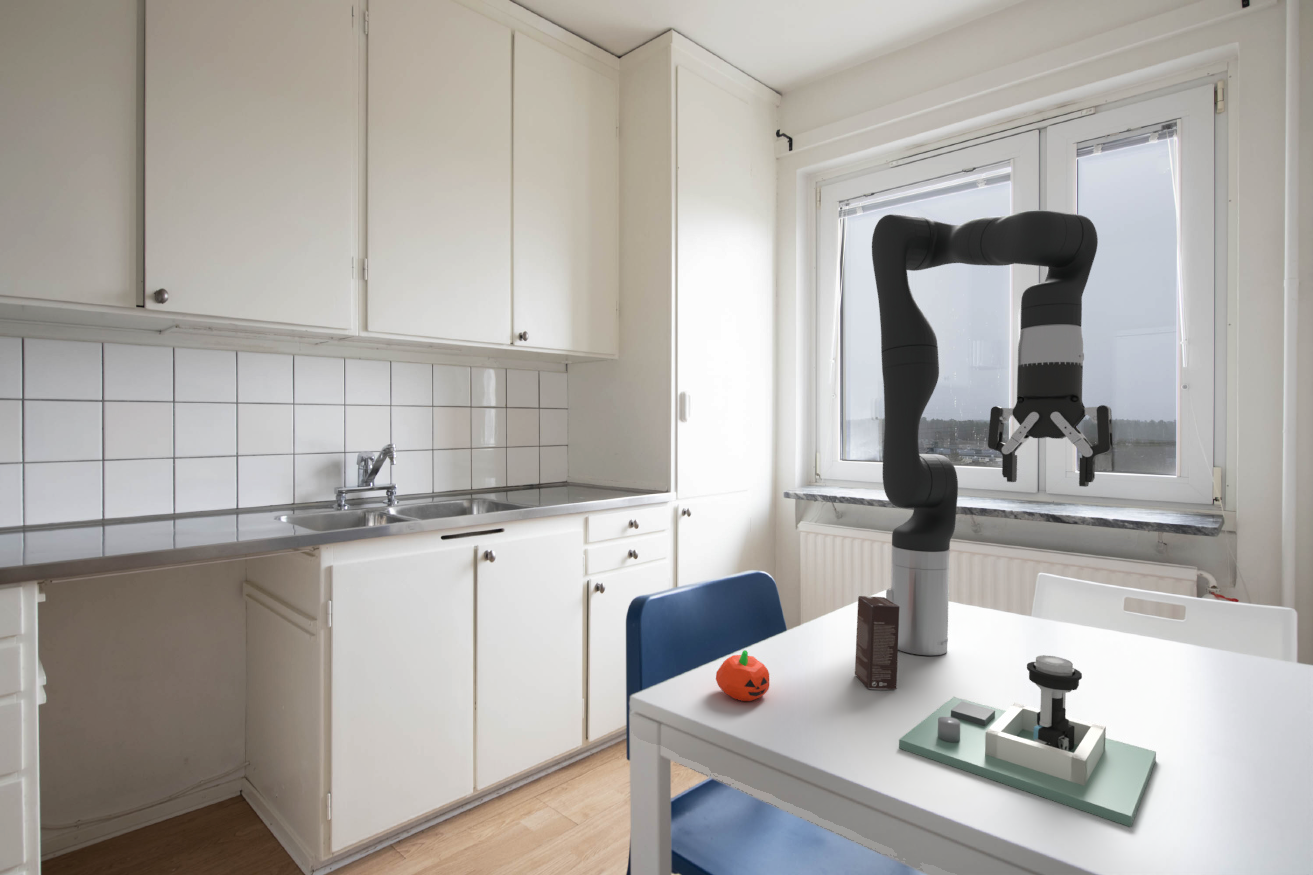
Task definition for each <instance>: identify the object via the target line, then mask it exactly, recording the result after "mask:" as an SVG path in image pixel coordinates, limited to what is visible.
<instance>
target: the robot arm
mask: <svg viewBox="0 0 1313 875" xmlns="http://www.w3.org/2000/svg"><path fill="white" fill-rule="evenodd" d="M1098 240H1099V239H1098V232H1097V229H1096V227H1095V224H1094V223H1093V222H1092V220H1091V219H1090V218H1089V217H1087V216H1085V215H1082V214H1077V213H1069V212H1062V211H1055V210H1047V209H1031V210H1023V211H1019V212H1016V213H1014V214H1010V215H997V216H984V217H978V218H973V219H970V220H967V221H965V222H963V223H962V224H961V223H959V224H952V223H946V222H942V221H939V220H938V221H937V220H934V219H930V218H928V217H924V216H916V215H907V214H895V213H893V214H892V213H891V214H887V215H884V216H882V217H881V218H880V219H879V220H878V221H877V223H876V225H875V227H874V229H873V234H872V239H871V256H872V257H871V258H872V267H873V273H874V279H875V284H876V291H877V297H878V298H877V300H878V307H879V308H878V309H879V324H880V338H881V339H880V342H881V343H880V344H881V345H880V348H881V349H880V350H881V352H880V353H881V370H882V371H881V372H882V381H883V383H882V384H883V402H884V403H883V406H884V408H883V409H884V429H883V430H884V431H883V432H884V434H883V435H884V436H883V454H882V484H883V490H884V494H885V496H886V498H887V499H888V501H889V502H890V504H892V505H893V506H895V507H897V508H900V509H901V508H902V509H913V512H912V515H911V516H910V518H909V519H907V521H905V522H904V523H903V524H901V525H900V524H899V525H898V526H896V527H895V528H894V529H893V530H892V532H891V533H892V534H891V574H890V575H891V576H890V580H891V581H890V588H888V589H886V593H885V598H886V599H888V600H889V601H891V602H892V603H894V604H896V605H897V606H899V607H900V608H899V632H898V651H901V652H903V653H908V654H914V655H918V656H940V655H944V654H947V652H948V642H949V636H948V635H949V634H948V633H949V632H948V631H949V601H950V600H949V596H950V593H949V589H950V588H949V587H950V586H949V585H950V553H951V552H950V549H951V545H950V544H951V540H952V537H953V535H954V533H955V528H956V523H957V522H956V521H957V507H958V495H959V494H958V493H959V492H958V491H959V481H958V474H957V471H956V467H955V465H954V464H953V462H952V461H951V460H950V459H949V458H948V457H946V456H944V455H943V454H935V453H934V454H933V453H920V450H919V448H920V447H919V446H920V445H919V433H920V432H919V429H920V424H921V419H922V416H923V414H924V411H925V409H926V407H927V405H928V404H929V403H930V402H929V401H930V399H931V398H932V396H933V394H934V391H935V389H936V387H937V384H938V381H939V377H940V375H939V374H940V363H939V362H940V361H939V349H938V348H939V346H938V340H937V335H936V332H935V330H934V328H933V326H932V325H931V323H930V322H929V320H928V318H927V317H926V315H925V313H924V312H923V311H922V310H923V309H921V308H920V306H919V304H918V303H917V301H916V299H915V297H914V295H913V293H912V290H911V288H910V284H909V283H910V282H909V276H908V271H911V272H912V271H913V272H915V271H917V272H918V271H922V270H927V269H932V268H936V267H940V266H945V265H951V264H965V265H972V266H999V267H1000V266H1001V267H1003V266H1009V265H1014V264H1015V265H1027V266H1037V267H1047V268H1048V269H1047V274H1046V277H1045V280H1044V282H1041V283H1036V284H1033V285H1030V286H1028V287H1027V288H1026V289H1025V290H1024V291H1023V293H1022V297H1021V304H1020V334H1019V341H1018V347H1017V372H1016V373H1017V375H1016V376H1017V378H1016V380H1017V381H1016V383H1017V384H1016V403H1015V405H1014V407H1013V408H1010V407H1002V406H998V405H997V406H993V407H991V409H990V415H989V416H990V418H989V426H988V427H989V428H988V438H987V439H988V440H987V447H988V449H990V450H993V451H997V452H999V453H1000V454H1001V455H1002V458H1001V459H1002V464H1001V465H1002V466H1001V475H1002V476H1003V478H1006V482H1007V483H1016V482H1017V477H1018V476H1017V475H1018V472H1017V471H1018V455H1017V454H1016V453H1017V451H1018V450H1019V449H1020V448H1021V447H1022V445H1024V444H1025V443H1026V442H1027V441H1028V440H1029V439H1030V437H1031V438H1032V439H1046V438H1049V439H1055V440H1056V439H1057V440H1058V439H1059V440H1062V439H1065V438H1067V439H1068V441H1070V442H1071V444H1072V445H1074V446H1075V447H1076V449H1077V450H1078V451H1079V452H1080V453H1081V457H1079V468H1078V469H1079V474H1078V476H1079V477H1078V484H1079V485H1078V486H1079V487H1084V488H1085V487H1089V485H1090V484H1089V483H1094V480H1095V476H1096V475H1095V474H1096V471H1095V470H1096V458H1097V456H1099V455H1100V456H1101V455H1104V454H1106V453H1111V452H1112V451H1113V450H1114V440H1113V439H1114V438H1113V417H1112V409H1111V407H1110V406H1108V405H1103V404H1101V405H1099V406H1090V407H1085V405H1084V403H1083V376H1084V375H1083V374H1084V371H1083V370H1084V369H1083V367H1084V361H1085V353H1084V340H1083V339H1084V338H1083V333H1082V332H1083V331H1082V319H1083V318H1082V316H1083V315H1082V314H1083V312H1082V310H1083V308H1082V307H1083V306H1082V305H1083V294H1084V291H1085V290H1086V289H1085V288H1086V286H1087V282H1088V280H1089V277H1090V273H1091V270H1092V267H1093V264H1094V261H1095V257H1096V254H1097V250H1098V244H1099V243H1098ZM1086 416H1088V417H1089V418H1090V421H1091V422H1092V423H1094V424H1096V428H1097V444H1095V445H1093V444H1092V443H1090V441H1089V440H1088V439H1087V437H1086V436H1085V435H1084V433H1083V432H1082V431H1081V430H1080V429H1079V428H1078V426H1079V424H1080V423H1081V422H1082V421H1083V420H1084V419H1085V417H1086ZM1011 417H1013V418H1014V420H1016V422H1017V423H1018V424H1019V426H1018V427H1017V429H1016V430H1015V431H1014V432H1013V433H1012V434H1011V436H1010V437H1009V439H1008V440H1007V442H1006V443H1004V442H1003V441H1004V440H1003V439H1004V431H1005V430H1004V429H1005V428H1004V427H1005V424H1006V423H1008V422H1009V420H1010V419H1011Z"/></svg>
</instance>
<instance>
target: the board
mask: <svg viewBox="0 0 1313 875" xmlns="http://www.w3.org/2000/svg"><path fill="white" fill-rule="evenodd" d="M1038 712H1040V709H1039V708H1036V707H1032V706H1028V705H1024V704H1021V703H1017V702H1014V703H1013V704H1012V705H1011V706H1010V707H1009V708H1008V709H1006V710H1004V709H1001V708H998V707H994V706H989V705H986V704H982V703H979V702H975V701H971V700H967V699H963V698H960V697H956V696H953V697H951V698H950V699H949V700H947V702H944V704H943V705H941V706H940V707H938V708H937V709H936V710H935V711H933V712H932V713H931V714H930V715H928V716H927V717H926V718H925V719H923V720H922V721H921V722H920V723H918V724H917V725H916V726H914V727H913V728H912V729H910V730H909V731H908V732H906V734H904V735H903V736H902V737H900V738H899V739H898V748H899V749H900V750H904V751H906V752H909V753H913V754H916V755H919V756H921V757H924V758H927V759H930V760H933V761H936V762H939V763H942V764H945V765H947V766H950V767H954V768H956V769H960V770H962V771H966V772H967V773H971V774H974V775H977V776H980V777H983V778H986V779H989V780H992V781H995V782H998V783H1000V784H1004V785H1006V786H1010V787H1012V788H1014V789H1015V788H1016V789H1018V790H1021V791H1025V792H1027V793H1031V794H1033V795H1036V796H1039V797H1042V798H1045V799H1048V800H1050V801H1053V802H1056V803H1059V804H1062V805H1065V806H1068V807H1071V808H1073V809H1077V810H1080V811H1083V812H1086V813H1088V814H1092V815H1095V816H1098V817H1101V818H1104V819H1106V820H1109V821H1112V822H1115V823H1118V824H1121V825H1124V826H1127V827H1130V828H1131V827H1132V825H1133V822H1134V820H1135V818H1136V815H1137V811H1138V809H1139V806H1140V804H1141V801H1142V798H1143V796H1144V793H1145V790H1146V788H1147V785H1148V782H1149V780H1150V777H1151V774H1152V771H1153V769H1154V766H1155V763H1156V762H1157V761H1156V760H1157V756H1156V755H1157V751H1155V750H1153V749H1148V748H1144V747H1141V746H1140V747H1139V746H1138V745H1137V746H1136V745H1133V744H1129V743H1125V742H1123V741H1118V740H1115V739H1112V738H1108V737H1106V736H1107V735H1106V731H1107V729H1106V725H1101V724H1097V723H1093V722H1090V721H1086V720H1081V719H1078V718H1074V717H1071V716H1067V715H1066V716H1065V717H1066V719H1068V720H1069V724H1070V725H1073V726H1074V727H1075V731H1074V748H1073V749H1072V750H1069V749H1068V751H1065V750H1061V749H1058V748H1055V747H1051V746H1048V745H1044V744H1041V743H1038V742H1034V741H1033V740H1034V733H1033V729H1034V727H1035V726H1038V724H1037V713H1038Z"/></svg>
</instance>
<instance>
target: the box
mask: <svg viewBox="0 0 1313 875" xmlns="http://www.w3.org/2000/svg"><path fill="white" fill-rule="evenodd" d="M899 608H900V607H899V606H897V605H896V604H894V603H892V602H891V601H889V600H888V599H886V597H883V596H882V597H881V596H869V595H868V596H866V595H863V596H862V595H859V596H858V598H857V618H856V620H857V622H856V642H855V663H854V676H856V677H857V678H858V679H859V681H860V682H862V683H863V685H864V686H865V687H866V689H868V690H873V691H889V690H890V691H891V690H897V686H898V685H897V684H898V683H897V682H898V652H899V650H898V632H899Z"/></svg>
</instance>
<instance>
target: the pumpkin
mask: <svg viewBox="0 0 1313 875" xmlns="http://www.w3.org/2000/svg"><path fill="white" fill-rule="evenodd" d="M748 653H749V652H748V651H747V649H745V650H742V653H741V654H734V655H732V656H730V657H728V658H726V659H725V660H724V661H722V663H721V665H720V667H719V668H718V670H717V671H716V675H715V681H716V683H717V686H718V687H719V688H720V690H721V691H722V692H724V693H725V694H726V695H728V696H729V697H730V698H733V699H735V700H737V699H738V701H740V700H741V701H742V702H751V701H755V700H757V699H759V698H761V697H763V696H764V695H766V693H767V692H768V691H769V688H770V672H769V670H768V668H767V666H765V664H764V663H762V661H760V660H759V659H757V658H756V657H755V656H752V655H749V654H748Z"/></svg>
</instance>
